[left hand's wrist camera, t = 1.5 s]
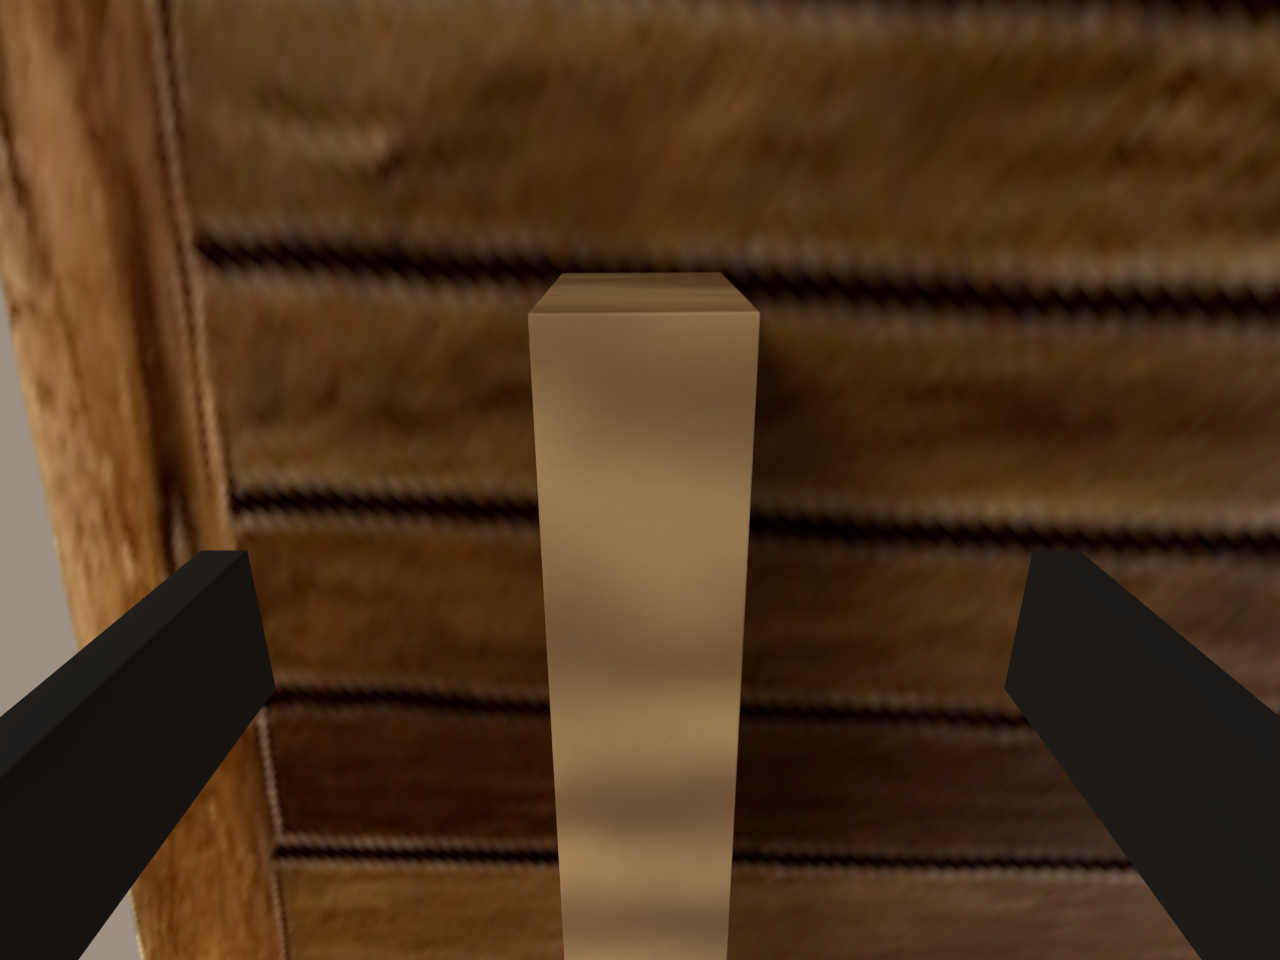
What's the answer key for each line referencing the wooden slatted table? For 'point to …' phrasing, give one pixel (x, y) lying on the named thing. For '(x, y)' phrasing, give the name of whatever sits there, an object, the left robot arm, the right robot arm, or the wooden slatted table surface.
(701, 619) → the bar
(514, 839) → the wooden slatted table surface
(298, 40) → the wooden slatted table surface
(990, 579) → the wooden slatted table surface
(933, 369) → the wooden slatted table surface
